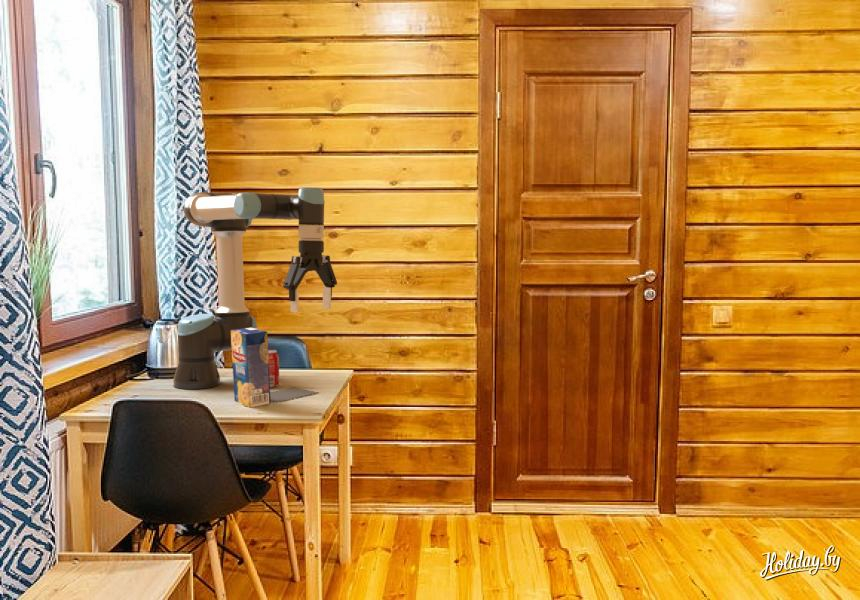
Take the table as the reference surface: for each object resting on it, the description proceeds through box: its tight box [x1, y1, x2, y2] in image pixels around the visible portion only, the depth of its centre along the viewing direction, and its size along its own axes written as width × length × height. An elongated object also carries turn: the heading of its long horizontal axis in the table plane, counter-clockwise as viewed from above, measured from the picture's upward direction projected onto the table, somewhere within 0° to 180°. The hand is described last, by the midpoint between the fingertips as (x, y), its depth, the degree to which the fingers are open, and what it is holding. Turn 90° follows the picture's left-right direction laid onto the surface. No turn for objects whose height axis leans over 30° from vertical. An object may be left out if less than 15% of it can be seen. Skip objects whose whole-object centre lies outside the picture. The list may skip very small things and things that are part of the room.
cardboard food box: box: [231, 327, 272, 408], centre depth 226 cm, size 7×11×22 cm, turn 38°
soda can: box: [268, 349, 280, 389], centre depth 249 cm, size 7×7×12 cm
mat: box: [270, 387, 320, 404], centre depth 238 cm, size 12×18×1 cm
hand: (310, 310), depth 225 cm, fingers open, 13 cm apart
